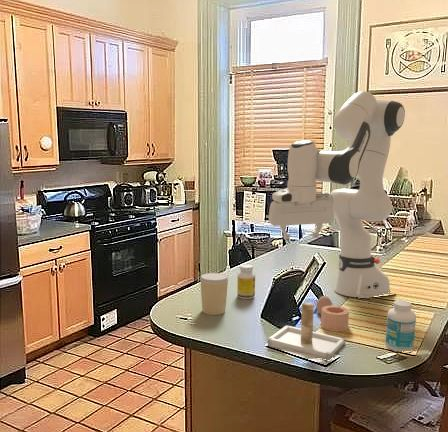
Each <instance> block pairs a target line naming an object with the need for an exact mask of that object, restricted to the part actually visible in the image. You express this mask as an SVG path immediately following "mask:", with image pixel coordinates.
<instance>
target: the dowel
mask: <svg viewBox="0 0 448 432" xmlns="http://www.w3.org/2000/svg"><path fill="white" fill-rule="evenodd" d="M314 306H315V305H314V304H313V303H312V302H302V304H301V318H300V319H301V322H300V329H301V343H302V344H312V335H313V332H314V329H313V328H314V312H315V311H314V309H315V308H314Z"/></svg>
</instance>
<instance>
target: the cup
mask: <svg viewBox="0 0 448 432" xmlns="http://www.w3.org/2000/svg"><path fill="white" fill-rule="evenodd" d="M349 316H350V310H349V309H348V308H346V307H345V306H339V305H333V304H332V306H325V307H322V309H321V315H320V326H321V328H322V329H323V330H326V331H329V332H344V331H347V330H348V329H349V318H350V317H349Z"/></svg>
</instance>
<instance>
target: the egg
mask: <svg viewBox="0 0 448 432" xmlns="http://www.w3.org/2000/svg"><path fill="white" fill-rule="evenodd" d="M325 306H333V303H332V300H331V298H329V296H326V295H322V296H320V297H319V298H318V300H317V302H316V306H315V308H316V311H317V312H316V313H317V314H319V315H320V316H321V309H322V307H325Z"/></svg>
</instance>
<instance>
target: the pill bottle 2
mask: <svg viewBox="0 0 448 432" xmlns="http://www.w3.org/2000/svg"><path fill="white" fill-rule="evenodd" d="M392 306H393V308H390V309H389V310H388V311H387V317H386V329H385V331H386V333H385V334H386V335H385V347H386V348H388V349H389V350H391V351H393V352H397V351H399V352H402V351H403V352H404V351H411V350H413V351H414V349H413V348H414V346H415V336H416V335H415V334H416V323H417V322H416V321H417V315H416V313H415V312H414V311H413V310H412V309H413V308H412V303H411V302H410V301H408V300H401V299H400V300H398V299H397V300H394V301H393V305H392Z"/></svg>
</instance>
